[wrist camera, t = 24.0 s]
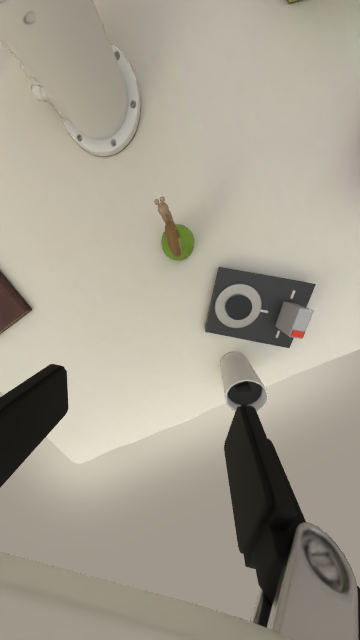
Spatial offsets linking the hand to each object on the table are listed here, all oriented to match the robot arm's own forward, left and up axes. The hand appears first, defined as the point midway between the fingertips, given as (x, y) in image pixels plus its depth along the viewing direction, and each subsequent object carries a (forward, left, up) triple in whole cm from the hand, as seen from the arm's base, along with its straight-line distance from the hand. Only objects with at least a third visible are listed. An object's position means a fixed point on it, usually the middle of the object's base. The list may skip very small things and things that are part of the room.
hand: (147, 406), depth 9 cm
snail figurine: (-3, +11, -26) cm, 29 cm away
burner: (+10, +2, -24) cm, 26 cm away
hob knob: (+18, +2, -24) cm, 30 cm away
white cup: (+13, -11, -26) cm, 31 cm away
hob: (+13, +2, -26) cm, 29 cm away
